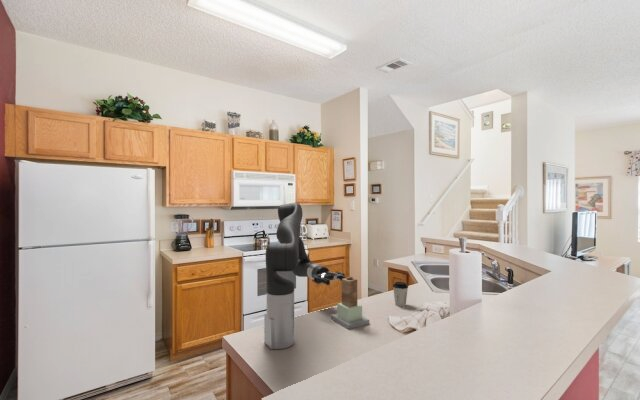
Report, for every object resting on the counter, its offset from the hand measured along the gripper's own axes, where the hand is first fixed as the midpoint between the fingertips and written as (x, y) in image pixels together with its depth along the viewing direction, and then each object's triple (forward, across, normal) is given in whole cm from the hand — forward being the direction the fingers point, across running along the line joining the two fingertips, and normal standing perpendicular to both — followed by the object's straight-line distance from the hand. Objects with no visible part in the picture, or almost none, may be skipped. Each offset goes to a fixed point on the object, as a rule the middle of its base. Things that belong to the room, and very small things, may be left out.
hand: (337, 281), depth 128 cm
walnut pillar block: (+8, 0, +7) cm, 11 cm away
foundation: (+9, 0, +14) cm, 16 cm away
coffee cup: (+6, +31, +14) cm, 34 cm away
